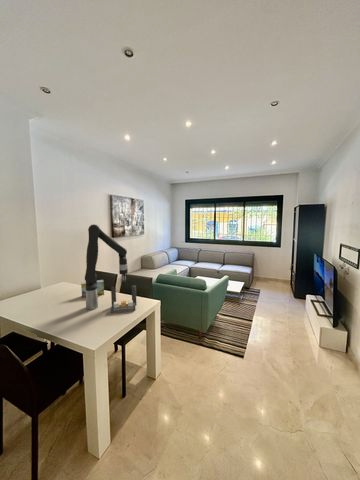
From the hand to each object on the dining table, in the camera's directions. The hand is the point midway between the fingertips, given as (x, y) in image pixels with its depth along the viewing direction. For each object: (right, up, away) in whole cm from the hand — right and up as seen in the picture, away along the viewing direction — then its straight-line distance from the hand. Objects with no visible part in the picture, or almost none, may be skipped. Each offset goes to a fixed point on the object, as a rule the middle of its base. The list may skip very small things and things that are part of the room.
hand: (124, 286), depth 187 cm
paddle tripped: (+4, -14, -15) cm, 21 cm away
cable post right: (+10, -16, -4) cm, 20 cm away
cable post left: (-7, -17, -8) cm, 20 cm away
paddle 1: (-2, -14, -16) cm, 21 cm away
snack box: (-38, -14, +19) cm, 44 cm away
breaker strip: (+4, -18, -15) cm, 23 cm away
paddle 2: (+10, -13, -14) cm, 21 cm away
